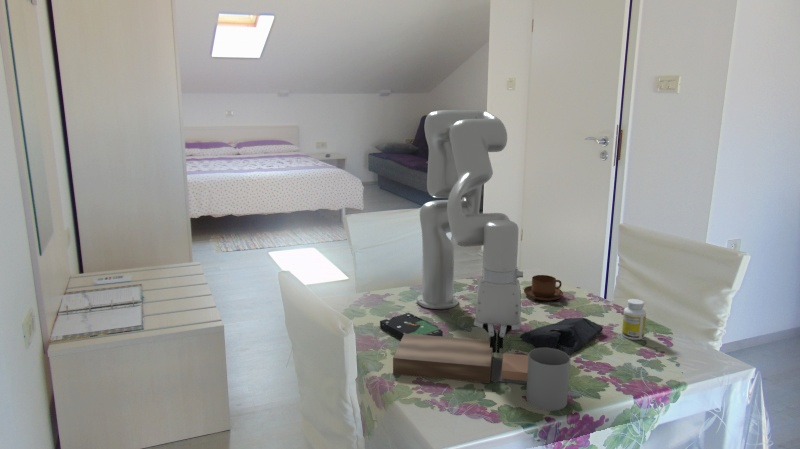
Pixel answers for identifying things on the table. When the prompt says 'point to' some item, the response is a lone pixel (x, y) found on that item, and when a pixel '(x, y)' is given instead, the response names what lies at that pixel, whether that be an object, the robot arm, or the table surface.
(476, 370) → the board
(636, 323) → the supplement bottle
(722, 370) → the table surface
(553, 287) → the cup and saucer
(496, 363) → the mat
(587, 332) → the dark slate chunk
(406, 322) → the disk drive
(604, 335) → the table surface
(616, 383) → the table surface
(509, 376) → the tile
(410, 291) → the table surface
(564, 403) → the cup
